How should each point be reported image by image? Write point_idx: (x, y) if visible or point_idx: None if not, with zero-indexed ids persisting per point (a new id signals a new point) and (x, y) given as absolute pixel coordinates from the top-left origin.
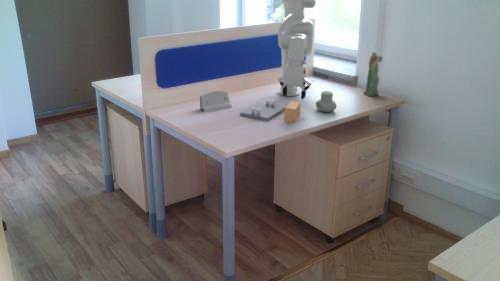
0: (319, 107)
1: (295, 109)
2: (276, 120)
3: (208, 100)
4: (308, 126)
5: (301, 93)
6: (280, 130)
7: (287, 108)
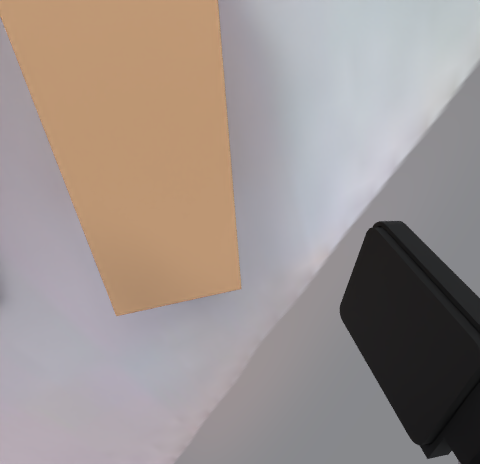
0: None
1: (238, 275)
2: (39, 238)
3: None
4: (337, 215)
5: (395, 403)
6: (181, 356)
7: (144, 308)
